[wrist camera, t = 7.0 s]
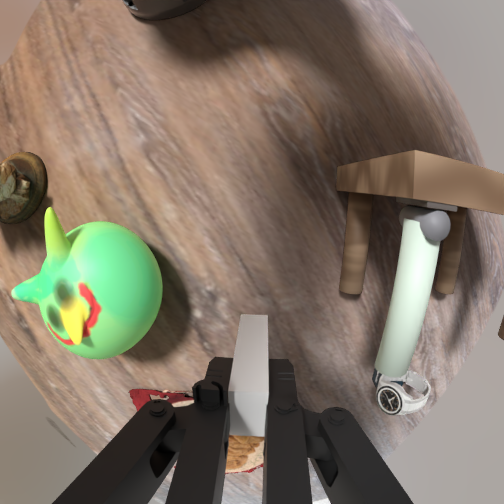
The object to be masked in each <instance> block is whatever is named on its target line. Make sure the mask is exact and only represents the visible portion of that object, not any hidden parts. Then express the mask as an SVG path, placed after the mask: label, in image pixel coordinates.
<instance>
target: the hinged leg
mask: <svg viewBox="0 0 504 504" xmlns="http://www.w3.org/2000/svg"><path fill="white" fill-rule="evenodd" d="M399 222H400V224H401V226H402V227H403V232H402V239H401V247H400V253H399V260H398V266H397V271H396V277H395V282H394V288H393V293H392V297H391V302H390V307H389V311H388V316H387V320H386V324H385V328H384V332H383V336H382V340H381V343H380V347H379V351H378V354H377V358H376V361H375V368H376V370H377V371H378V372H379V373H381V374H383V375H385V376H388V377H401V376H404V375H405V374H406V373H407V371H408V368H409V365H410V363H411V360H412V357H413V354H414V351H415V348H416V344H417V341H418V338H419V335H420V331H421V328H422V324H423V321H424V317H425V313H426V309H427V305H428V301H429V297H430V293H431V288H432V284H433V279H434V274H435V269H436V264H437V258H438V252H439V246H440V241H442V240H444V239H445V238H446V237H447V235H448V234H449V231H450V219H449V217H448V215H447V214H446V213H445V212H443V211H440V210H435V209H430V208H424V207H419V206H413V205H407V206H405V207H404V208H403V209H402V210H401V212H400V215H399Z"/></svg>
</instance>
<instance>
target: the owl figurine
mask: <svg viewBox="0 0 504 504" xmlns="http://www.w3.org/2000/svg"><path fill="white" fill-rule="evenodd" d="M45 190H46V170H45V166H44V164H43V162H42V160H41V159H40V158H39V157H38V156H37V155H35V154H33V153H30V152H19V153H15V154H13V155H11V156H9V157H8V158H6V159H5V160H3V161H2V162H1V163H0V221H1V222H3V223H8V224H15V223H18V222H21V221H23V220H26V219H27V218H28V217H29V216H31V215H32V214H33V213H34V212H35V211H36V209H37V208H38V206H39V205H40V203H41V200H42V196H43V195H44V194H45ZM5 221H6V222H5Z"/></svg>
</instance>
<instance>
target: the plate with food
mask: <svg viewBox="0 0 504 504" xmlns="http://www.w3.org/2000/svg"><path fill="white" fill-rule="evenodd" d="M129 392H130V397H131V398H132V399H133V404H134V405H135V406H136V408H137V411H139V409H140V408H141V407H142V406H143V405H144V404H145V403H147V402H148V401H151V399H150V396H149V395H150V394H151V395H156V396H157V395H160V397H161V398H164V396H165V395H167V396H168V397H169V399H168V400H166V401H168V402H170V403H171V404H172V405H173V406H174V407H181V406H187V405H190V404H192V403H194V399H193V398H187V397H184V396H185V394H183V393H186V392H187V393H189V392H191V391H189V392H188V391H173V392H171V391H170V390H164V391H163V392H161V393H160V392H159V391H155V390H146V389H145V390H144V389H132V390H130V391H129ZM129 392H128V393H129ZM178 393H179V394H178ZM263 449H264V437H262V436H240V435H230V434H229V448H228V455H227V463H226V471H225V474H228V473H230V472H231V473H238V472H241V471H242V472H248V473H250V472H252V471H254V470H255V469H257V468H256V467H258V466H260V465H261V466H260V467H263V458H264V456H263ZM177 460H178V459H177ZM175 467H176V466H175ZM175 467H174V468H175ZM260 467H258V468H260ZM253 469H254V470H253ZM248 470H249V471H248Z"/></svg>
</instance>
